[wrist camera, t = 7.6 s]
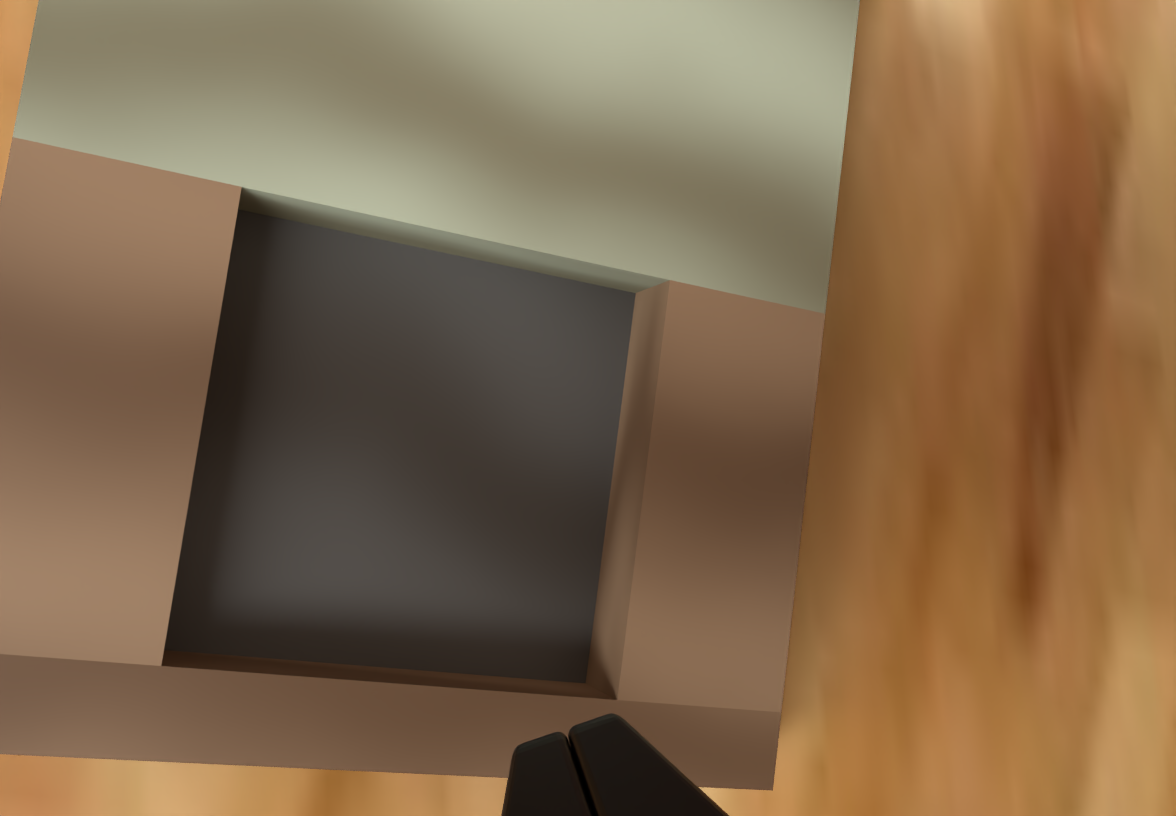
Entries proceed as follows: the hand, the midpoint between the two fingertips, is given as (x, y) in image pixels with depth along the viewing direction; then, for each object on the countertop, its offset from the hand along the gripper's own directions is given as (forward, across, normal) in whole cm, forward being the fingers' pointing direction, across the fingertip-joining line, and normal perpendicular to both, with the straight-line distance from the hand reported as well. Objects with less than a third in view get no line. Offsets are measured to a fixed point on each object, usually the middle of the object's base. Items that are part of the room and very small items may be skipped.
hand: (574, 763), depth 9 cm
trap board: (+19, -4, -4) cm, 20 cm away
